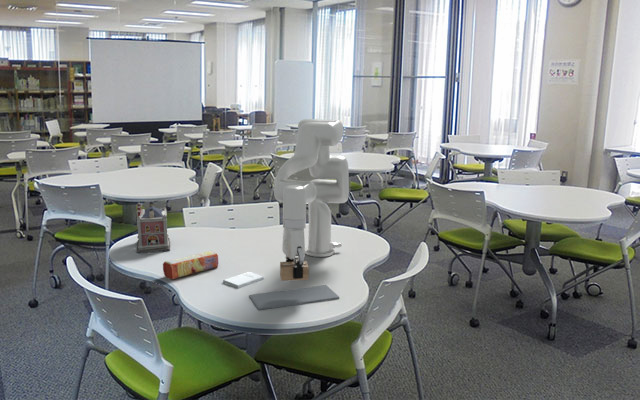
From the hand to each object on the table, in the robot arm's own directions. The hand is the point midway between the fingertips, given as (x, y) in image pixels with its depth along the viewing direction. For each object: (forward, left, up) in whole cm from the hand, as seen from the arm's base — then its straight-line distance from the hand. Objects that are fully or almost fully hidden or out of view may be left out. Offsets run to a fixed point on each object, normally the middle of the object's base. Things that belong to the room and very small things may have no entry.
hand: (294, 274), depth 185 cm
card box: (0, 0, -1) cm, 1 cm away
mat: (0, 0, -8) cm, 8 cm away
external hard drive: (+12, -22, -9) cm, 26 cm away
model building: (+39, -76, -9) cm, 86 cm away
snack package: (+28, -37, -9) cm, 48 cm away
